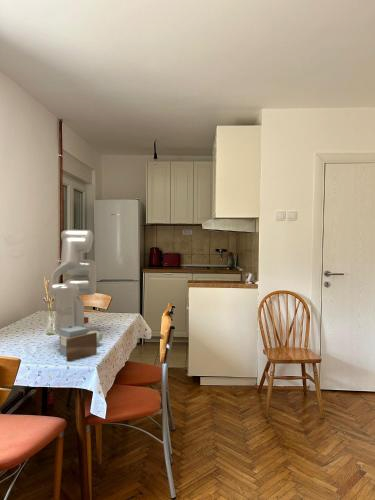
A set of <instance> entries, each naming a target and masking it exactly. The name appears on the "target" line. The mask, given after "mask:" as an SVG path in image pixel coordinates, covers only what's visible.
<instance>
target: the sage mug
mask: <svg viewBox="0 0 375 500" xmlns="http://www.w3.org/2000/svg"><path fill="white" fill-rule="evenodd" d="M94 332H96V333H97V348H98V347H100V342H101V341H103V332H100V331H99V330H89V331H87V334H90V333H94Z"/></svg>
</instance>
